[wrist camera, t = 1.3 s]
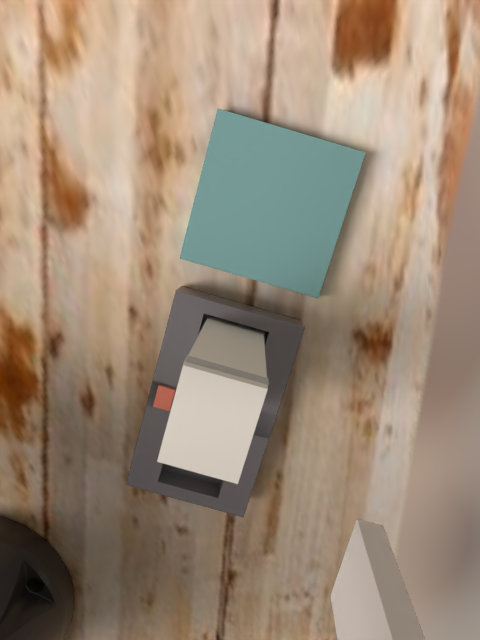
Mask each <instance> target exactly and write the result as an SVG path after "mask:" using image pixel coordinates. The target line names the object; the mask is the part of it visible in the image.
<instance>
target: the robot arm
mask: <svg viewBox="0 0 480 640" xmlns="http://www.w3.org/2000/svg"><path fill="white" fill-rule="evenodd" d="M330 597H331V603H332V609H333V615H334V621H335V628H336V634H337V640H425V638H424V635H423V632H422V630H421V627H420V624H419V622H418V619H417V616H416V614H415V611H414V608H413V605H412V603H411V600H410V597H409V595H408V592H407V589H406V587H405V584H404V581H403V579H402V576H401V573H400V570H399V568H398V565H397V562H396V560H395V557H394V554H393V552H392V549H391V546H390V544H389V541H388V538H387V536H386V533H385V530H384V527H383V525H379V524H375V523H371V522H367V521H363V520H359V519H357V521H356V524H355V526H354V529H353V532H352V535H351V538H350V541H349V544H348V547H347V549H346V552H345V555H344V558H343V561H342V564H341V567H340V570H339V572H338V575H337V578H336V581H335V584H334V587H333V590H332V593H331V595H330ZM73 610H74V591H73V586H72V582H71V579H70V576H69V573H68V571H67V569H66V567H65V565H64V563H63V562H62V560H61V558H60V557H59V556H58V554H57V553H56V552H55V551H54V549H53V548H52V547H51V546H50V545H49V544H48V543H47V542H46V541H45V540H44V539H42V538H41V537H40V536H39V535H37V534H36V533H34V532H33V531H31V530H30V529H28V528H27V527H25V526H23V525H21V524H19V523H16V522H14V521H12V520H9V519H6V518H3V517H0V640H62V639H63V637H64V635H65V633H66V631H67V629H68V627H69V624H70V622H71V619H72V615H73Z"/></svg>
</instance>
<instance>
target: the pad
mask: <svg viewBox="0 0 480 640" xmlns="http://www.w3.org/2000/svg"><path fill="white" fill-rule="evenodd" d="M365 153H366V152H363V151H359V150H356V149H353V148H349V147H346V146H342V145H339V144H336V143H332V142H329V141H326V140H322V139H319V138H316V137H312V136H309V135H306V134H302V133H299V132H295V131H292V130H289V129H285V128H282V127H279V126H275V125H272V124H269V123H265V122H262V121H259V120H255V119H252V118H248V117H245V116H242V115H238V114H235V113H232V112H228V111H225V110H222V109H218V110H217V114H216V118H215V122H214V126H213V129H212V133H211V137H210V141H209V145H208V149H207V153H206V157H205V161H204V165H203V169H202V173H201V177H200V180H199V184H198V188H197V192H196V196H195V200H194V204H193V208H192V212H191V216H190V220H189V224H188V228H187V232H186V235H185V239H184V243H183V247H182V251H181V255H180V259H184V260H187V261H191V262H194V263H198V264H201V265H205V266H208V267H211V268H215V269H218V270H222V271H225V272H229V273H232V274H236V275H239V276H243V277H246V278H250V279H253V280H256V281H260V282H263V283H267V284H270V285H274V286H277V287H281V288H284V289H288V290H291V291H295V292H298V293H302V294H305V295H308V296H312V297H315V298H318V297H319V294H320V291H321V288H322V285H323V282H324V279H325V276H326V273H327V270H328V267H329V264H330V260H331V257H332V254H333V251H334V248H335V245H336V242H337V239H338V236H339V233H340V230H341V227H342V224H343V221H344V218H345V215H346V211H347V208H348V205H349V202H350V199H351V196H352V193H353V190H354V187H355V184H356V181H357V178H358V175H359V172H360V169H361V166H362V162H363V159H364V156H365Z"/></svg>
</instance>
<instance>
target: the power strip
mask: <svg viewBox="0 0 480 640" xmlns="http://www.w3.org/2000/svg"><path fill="white" fill-rule="evenodd" d="M209 315H211V316H214V317H218V318H221V319H225V320H228V321H232V322H235V323H239V324H242V325H246V326H249V327H253V328H256V329H260V330H263V331H264V344H265V357H266V371H267V378H268V380H269V385H268V390H267V393H266V397H265V400H264V403H263V406H262V409H261V412H260V416H259V419H258V422H257V425H256V428H255V431H254V434H253V438H252V441H251V444H250V447H249V450H248V453H247V457H246V460H245V463H244V466H243V469H242V472H241V476H240V479H239V482H238V484H236V483H232V482H228V481H225V480H221V479H217V478H214V477H210V476H207V475H203V474H199V473H196V472H192V471H189V470H185V469H181V468H178V467H174V466H171V465H167V464H163V463H160V462H157V460H158V456H159V452H160V448H161V444H162V441H163V437H164V433H165V430H166V426H167V422H168V419H169V415H170V411H171V407H172V404H173V400H174V396H175V393H176V389H177V385H178V382H179V378H180V374H181V370H182V367H183V363H184V360H185V358H186V356H187V355H189V353H190V351H191V349H192V347H193V345H194V343H195V341H196V339H197V337H198V335H199V333H200V331H201V330H202V328H203V326H204V324H205V322H206V320H207V318H208V316H209ZM304 329H305V327H304V325H303V323H302V321H301V320H298V319H295V318H291V317H288V316H284V315H281V314H277V313H274V312H270V311H267V310H263V309H260V308H257V307H253V306H250V305H246V304H243V303H239V302H236V301H232V300H229V299H225V298H222V297H218V296H215V295H211V294H208V293H204V292H201V291H197V290H194V289H190V288H187V287H183V286H181V287H180V288H179V289H178V290H176V292H175V296H174V300H173V304H172V308H171V312H170V316H169V319H168V323H167V327H166V331H165V335H164V339H163V343H162V347H161V351H160V355H159V358H158V362H157V366H156V370H155V374H154V378H153V382H152V386H151V390H150V393H149V397H148V401H147V405H146V409H145V413H144V417H143V421H142V425H141V428H140V432H139V436H138V440H137V444H136V448H135V452H134V456H133V460H132V463H131V467H130V471H129V475H128V479H127V483H126V485H128V486H132V487H135V488H139V489H143V490H146V491H150V492H154V493H157V494H161V495H165V496H168V497H172V498H175V499H179V500H183V501H186V502H190V503H194V504H197V505H201V506H204V507H208V508H212V509H215V510H219V511H223V512H226V513H230V514H234V515H237V516H241V517H244V514H245V511H246V508H247V505H248V501H249V498H250V495H251V492H252V489H253V486H254V483H255V480H256V477H257V474H258V471H259V468H260V464H261V461H262V458H263V455H264V452H265V449H266V446H267V443H268V440H269V437H270V434H271V431H272V428H273V424H274V421H275V418H276V415H277V412H278V409H279V406H280V403H281V400H282V397H283V394H284V391H285V388H286V384H287V381H288V378H289V375H290V372H291V369H292V366H293V363H294V360H295V357H296V354H297V351H298V347H299V344H300V341H301V338H302V335H303V332H304Z"/></svg>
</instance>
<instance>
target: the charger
mask: <svg viewBox="0 0 480 640" xmlns="http://www.w3.org/2000/svg"><path fill="white" fill-rule="evenodd" d="M268 385H269V380H268V378H267V371H266V357H265V344H264V331H263V330H260V329H256V328H253V327H249V326H246V325H242V324H239V323H235V322H232V321H228V320H225V319H221V318H218V317H214V316H211V315H209V316H208V318H207V320H206V322H205V324H204V326H203V328H202V330H201V331H200V333H199V335H198V337H197V339H196V341H195V343H194V345H193V347H192V349H191V351H190V353H189V355H187V356H186V358H185V360H184V363H183V367H182V370H181V374H180V378H179V382H178V385H177V389H176V393H175V396H174V400H173V404H172V407H171V411H170V415H169V419H168V422H167V426H166V430H165V433H164V437H163V441H162V444H161V448H160V452H159V456H158V460H157V462H160V463H163V464H167V465H171V466H174V467H178V468H181V469H185V470H189V471H192V472H196V473H199V474H203V475H207V476H210V477H214V478H217V479H221V480H225V481H228V482H232V483H236V484H238V482H239V479H240V476H241V472H242V469H243V466H244V463H245V460H246V457H247V453H248V450H249V447H250V444H251V441H252V438H253V434H254V431H255V428H256V425H257V422H258V419H259V416H260V412H261V409H262V406H263V403H264V400H265V397H266V393H267V390H268Z"/></svg>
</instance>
